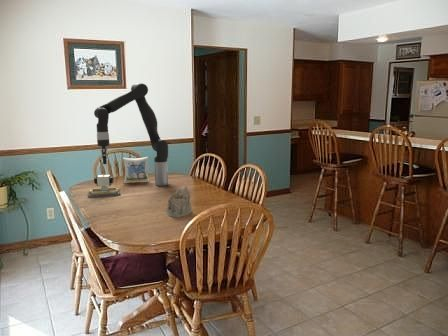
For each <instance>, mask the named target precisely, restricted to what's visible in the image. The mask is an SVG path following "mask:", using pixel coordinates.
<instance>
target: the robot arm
mask: <svg viewBox="0 0 448 336" xmlns="http://www.w3.org/2000/svg"><path fill="white" fill-rule="evenodd" d="M148 92H149V88H148V86H147V85H146V84H145V83H141V82H137V83H133V84H132V85H131V88H130V91H128V92H127V93H125V94H122V95H119V96H118V97H115V98H114V99H112V100H110V101H109V102H107V103H105V104H103V105H100V106H99V107H96V108H95V110H94V112H93V113H94V117H95V118H97V123H96V141H97V143H96V144H97V147H101V148H100V153H101V158H102V164H103V165H107V163H108V162H107V161H108V160H107V156H108V148H107V147H109V146H110V145H111V144H110V135H109V134H110V133H109V125H108V124H109V114H112V113H114V112H117V111H118V110H120V109H121V108H123V107H125V106H127V105H128V104H130V103H132V102H133V101H135V104H136V105H137V108H138V111H139V113H140V116H141V119H142V122H143V124H144V127H145V129H146V132H147V134H148V137H149V141H150V144H151V148H152V149H153V151H155V152H156V156H155V157H154V158H153V159H154V160H153V161H154V164H153V165H154V184H155V186H157V187H158V186H159V187H160V186H168V185H169V171H168V158H169V144H168V142H167V141H166V140H165V139H161V137H160V134H159V132H158V119H157V116H156V113H155V111H154V110H153V109H152V107H151V106H150V104H149V103H148V101H147V99H146V97H145V96H146V95H147V94H148Z"/></svg>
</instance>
